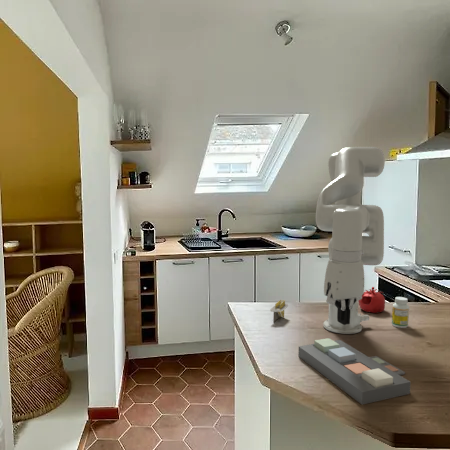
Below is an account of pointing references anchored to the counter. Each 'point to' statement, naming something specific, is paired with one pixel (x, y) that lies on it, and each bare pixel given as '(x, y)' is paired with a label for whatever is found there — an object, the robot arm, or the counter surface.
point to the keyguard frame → (350, 380)
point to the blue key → (341, 355)
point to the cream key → (377, 377)
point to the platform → (278, 310)
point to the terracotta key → (357, 368)
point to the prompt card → (388, 365)
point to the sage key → (325, 344)
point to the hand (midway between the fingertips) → (343, 322)
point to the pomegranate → (372, 301)
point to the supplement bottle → (400, 312)
